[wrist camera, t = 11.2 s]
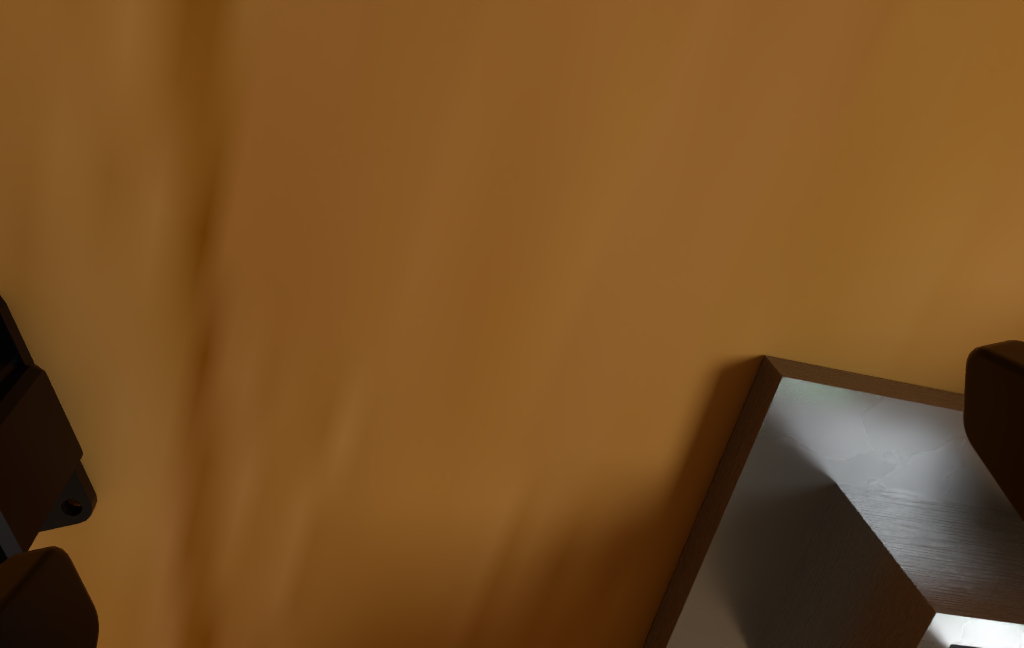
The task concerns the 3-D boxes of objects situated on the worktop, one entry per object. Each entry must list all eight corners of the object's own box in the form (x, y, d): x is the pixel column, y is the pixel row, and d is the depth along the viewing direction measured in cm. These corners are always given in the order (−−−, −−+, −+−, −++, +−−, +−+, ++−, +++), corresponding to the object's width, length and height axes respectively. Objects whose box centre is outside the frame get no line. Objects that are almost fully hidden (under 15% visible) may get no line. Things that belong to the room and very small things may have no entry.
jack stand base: (627, 684, 28) (684, 875, 23) (765, 355, 24) (879, 491, 18) (949, 718, 31) (1071, 897, 25) (1128, 427, 26) (1327, 566, 21)
